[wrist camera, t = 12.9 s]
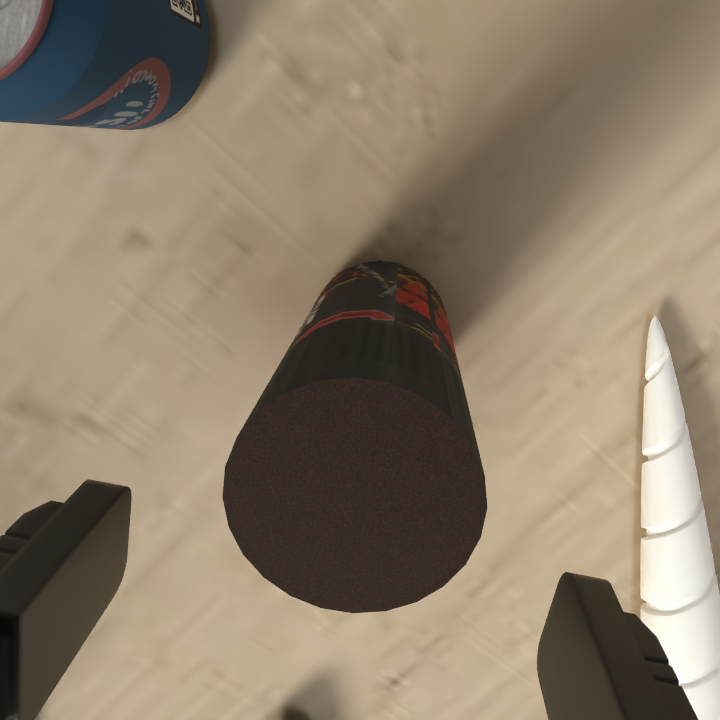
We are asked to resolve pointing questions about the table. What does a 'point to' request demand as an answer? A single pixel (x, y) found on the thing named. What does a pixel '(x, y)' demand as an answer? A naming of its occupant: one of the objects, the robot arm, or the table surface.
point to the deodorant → (361, 452)
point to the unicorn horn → (677, 539)
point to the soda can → (100, 60)
